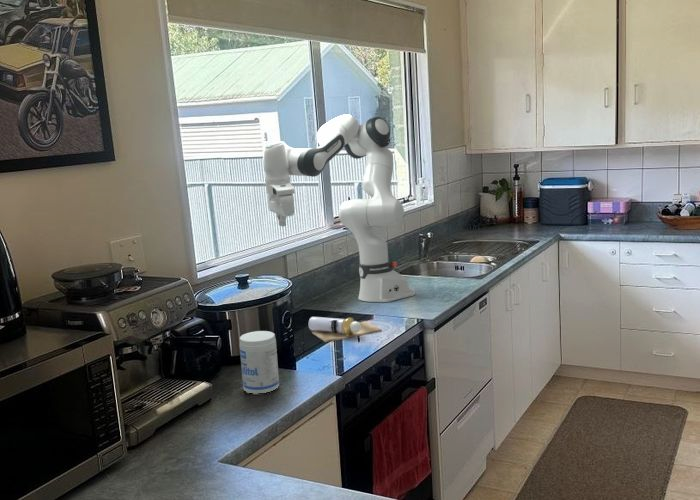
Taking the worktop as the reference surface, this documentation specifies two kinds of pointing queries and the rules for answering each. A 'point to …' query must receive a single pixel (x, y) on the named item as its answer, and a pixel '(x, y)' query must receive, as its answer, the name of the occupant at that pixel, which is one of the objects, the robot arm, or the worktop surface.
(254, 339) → the supplement tub
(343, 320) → the perfume bottle
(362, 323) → the mat
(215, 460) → the worktop surface
